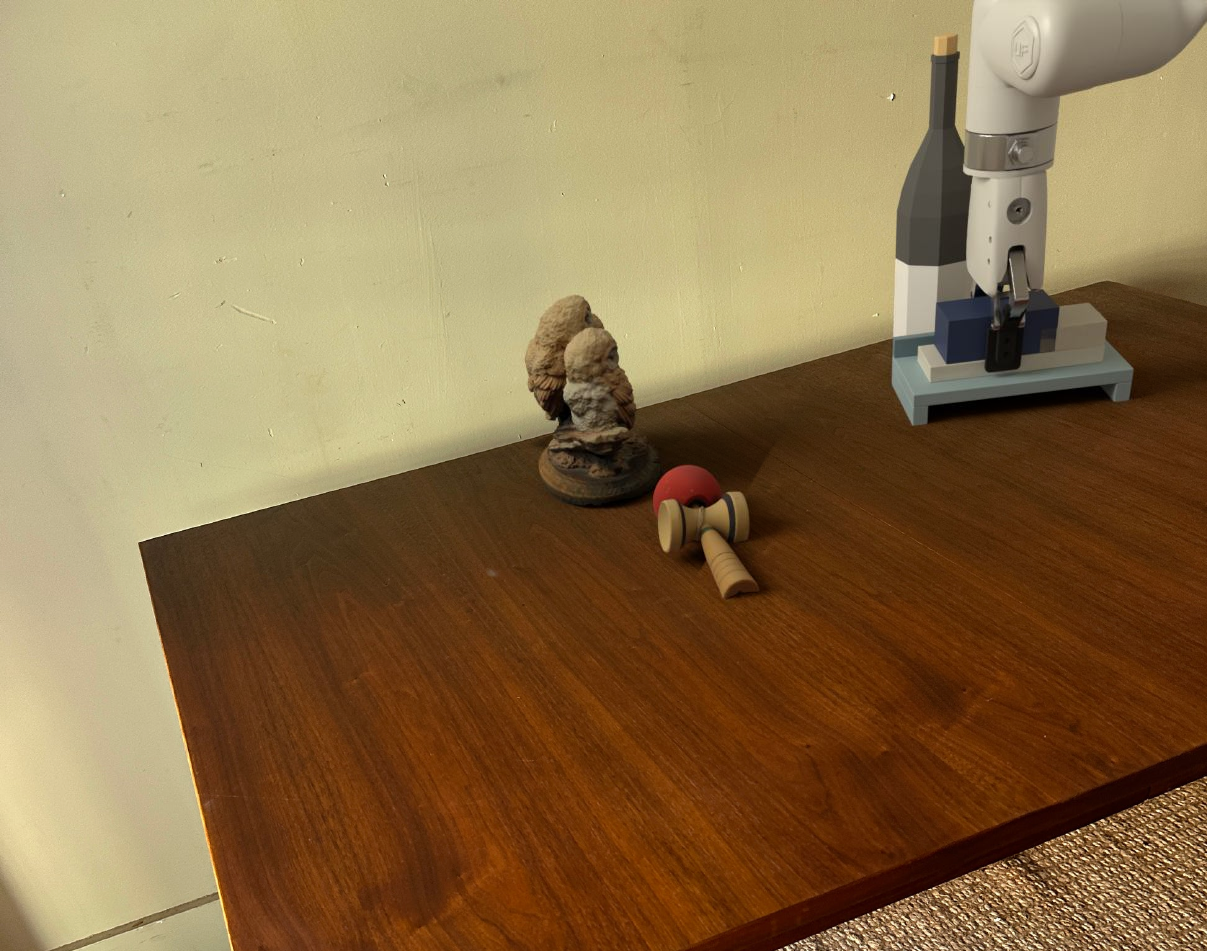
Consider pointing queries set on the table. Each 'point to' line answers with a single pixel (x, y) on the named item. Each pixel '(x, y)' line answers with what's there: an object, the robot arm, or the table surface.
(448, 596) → the table surface
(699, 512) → the kendama
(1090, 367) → the shelf
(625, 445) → the owl figurine
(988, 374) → the navy block on base
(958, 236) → the wine bottle
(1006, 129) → the robot arm
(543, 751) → the table surface
